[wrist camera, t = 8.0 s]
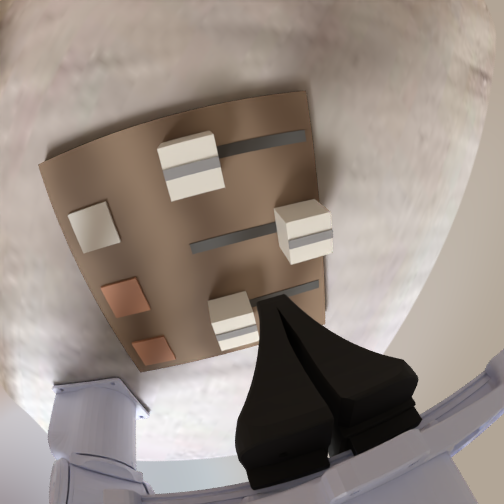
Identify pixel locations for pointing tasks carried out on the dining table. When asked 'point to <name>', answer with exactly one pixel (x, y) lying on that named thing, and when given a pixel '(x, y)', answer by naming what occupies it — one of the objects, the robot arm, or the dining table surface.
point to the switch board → (188, 224)
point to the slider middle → (304, 230)
